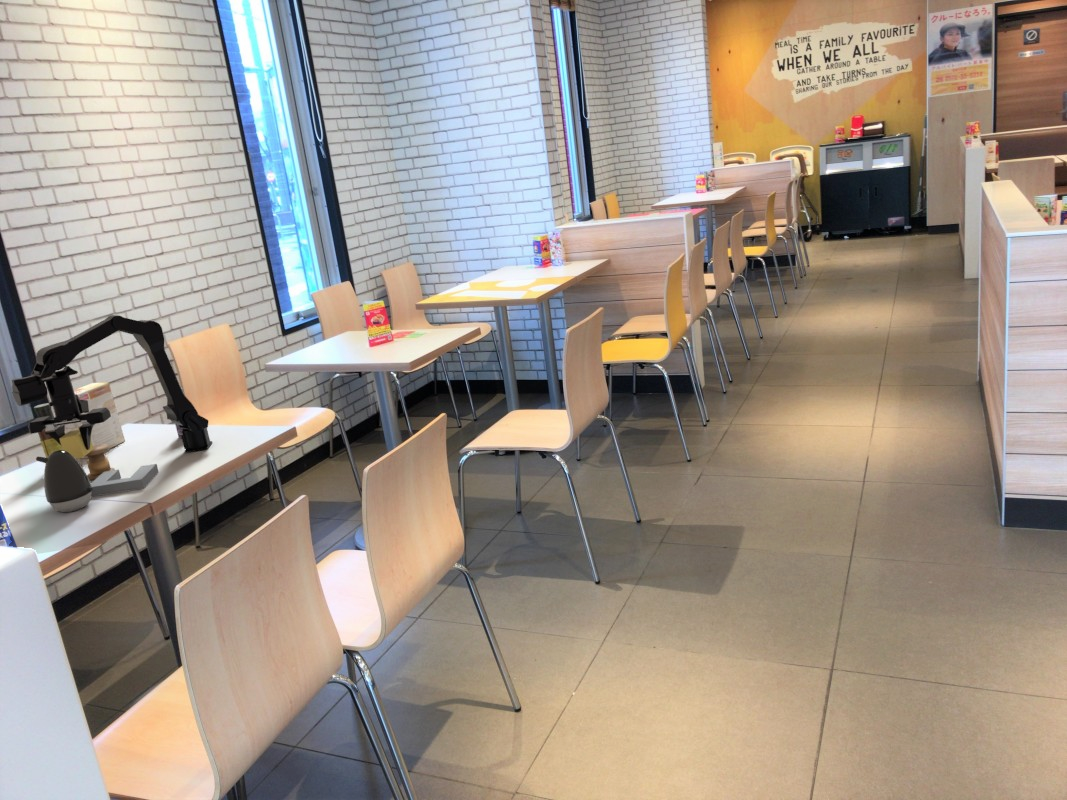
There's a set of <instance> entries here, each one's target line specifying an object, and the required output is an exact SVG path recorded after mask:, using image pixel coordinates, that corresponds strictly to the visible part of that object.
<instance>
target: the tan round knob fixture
mask: <svg viewBox="0 0 1067 800" xmlns="http://www.w3.org/2000/svg"><path fill="white" fill-rule="evenodd" d="M93 448H94V449H93V450H92V451H91V452H89V453H88V454H87V455H86V456H85V457H87V456H88V458H87V459H88V461H87V462H86V465H87V468H88V471H89V473H87V476H88V478H89V480H90V482H93V481H94V480H95V479H96V478H97V477H99V476H100V475H101V474H102V473H103V472H106V471H112V470H116V469H115V468H114V467H111V465H110V461H109V458H108V456H105V453H106V452H107V451H109V450H110V449H109V447H108V445H107V444H100V445H94V446H93Z"/></svg>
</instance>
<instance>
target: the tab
mask: <svg viewBox="0 0 1067 800" xmlns="http://www.w3.org/2000/svg"><path fill="white" fill-rule="evenodd" d="M59 439H60V443H61V446H62V449H63V450H64V451H67V452H69V453H70V454H71V455H72V456H73V457H74V458H75V459H76V460H78V459H77V458H79V459H84V458H83V457H85V456H86V455H87V454H88V453H89V452H91V451H92V450H93V449H94V448H93V445H92V441H90V449H89V450H87V449H86V447H85V445H84V442H83V439H82V436H81V433H80V430H79V429H77V430H71V431H69V432H68V433H65V435H64V436H62V437H61V438H59Z"/></svg>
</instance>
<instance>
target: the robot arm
mask: <svg viewBox="0 0 1067 800" xmlns="http://www.w3.org/2000/svg"><path fill="white" fill-rule="evenodd" d="M116 332H122V333H125V334H129V335H132V336H133V337H134V339H135V340H136V342H137V344H138V345H139V346H140V348H142V349H143V350H144V351H145V352H146V354H147V356H148V357H149V360H150V363H151V365H152V366H153V367H152V368H153V369H154V371H155V374H156V376H157V378H158V380H159V383H160V385H161V387H162V389H163V393H164V395H165V397H166V401H167V403H166V405H164V406H162V409H163V411H164V412H165V414H166V419H167V420H170V421H171V423H173V424H177V425H178V426H179V428H181V429H183V430H182V434H183V435H182V436H181V438H180V439H181V441H182V445H183V449H184V453H190V452H197V451H204V450H208V449H209V448H210V447H211V445H212V444H213V441H212V440H211V439H210V435H209V431H208V427H209V420H208V419H207V418H205V417H204V416H201V415H200V414H199V412H198V410H197V409H196V408H195V406H194V404H193V403H192V402H191V400H190V399H188V398H187V396H186V394H185V393H184V394H183V392H182V389H181V388H182V387H181V385H180V383H179V380H178V378H177V375H176V373H175V371H174V368H173V366H172V364H171V362H170V359H169V357H168V354H167V353H166V352H167V351H166V349H165V336H164V332H163V327H162V325H161V324H160V323H159V322H157V321H154V320H144V319H140V320H137V319H136V320H135V319H132V318H127V317H124V316H121V315H118V314H117V315H115V314H111V315H108V316H107V317H106V318H105V319H103V320H101V321H100V322H98V323H96V324H94V325H92V326H90V327H88V328H87V329H85V330H83V331H81V332H80V333H78V334H76V335H73V337H70V338H68V339H66V340H64V341H60V342H56V343H54V344H50V345H48V346H45V347H44V346H43V347H41V348H40V349H38V350H37V352H36V356H35V361H36V362H35V365H34V367H33V369H32V372H31V373H30V375H28V376H26V377H20V378H12V379H11V384H12V385H11V388H12V389H11V390H12V392H11V393H12V396H13V399H14V401H15V403H16V404H17V406H19V407H22V406H26V405H29V404H33V403H37V402H41V401H43V400H45V397H47V395H48V396H49V399H50V401H49V402H48V403H49V404H50V406H51V407H52V408H53V409H52V410H53V413H54V415H55V416H54V419H53V418H52V417H51V416H46V417H40V418H38V417H36V418H34V419H33V420H32V421H30V422H29V423H28V426H27V428H28V432H29V434H32V435H33V434H38V433H39V432H42V431H43V430H44V428H45V431H46V432H45V434H48V435H50V436H51V437H52V438H53V439H55V440H56V441H57V442H58V443H59V444H60V445H61V443H60V439H59V438H61V437H62V436H64V435H65V434H66V433H65V425H64V424H71V423H77V422H81V423H82V426H80V427H79V430H80V433H81V436H82V439H83V442H84V445H85V447H86V449H87V450H89V449H90V441H91V432H92V428H93V425H95V424H97V423H102V422H105V421H106V420H107V419H108V418H110V417H111V415H110V411H109V410H108V409H107V408H106V407H105V408H98V409H93V410H91V411H90V412H89V407H88V401H87V400H80V399H79V397H78V395H77V394H75V393H74V390H75V389H74V387H73V383H72V380H71V377H70V376H73V375H76V374H78V373H79V372H78V370H75V369H73V368H71V367H70V366H69V364H70V363H72V361H73V360H74V359H75V358H76V357H77V355H79V354H80V353H81V352H83V351H85V350H87V349H89V348H90V347H92V346H95V345H96V344H98V343H99V342H101V341H102V340H104V339H107V338H108V337H110V336H111V335H113V334H115V333H116ZM81 413H87V414H82V415H81ZM72 419H75V420H72ZM66 420H67V421H66Z"/></svg>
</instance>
